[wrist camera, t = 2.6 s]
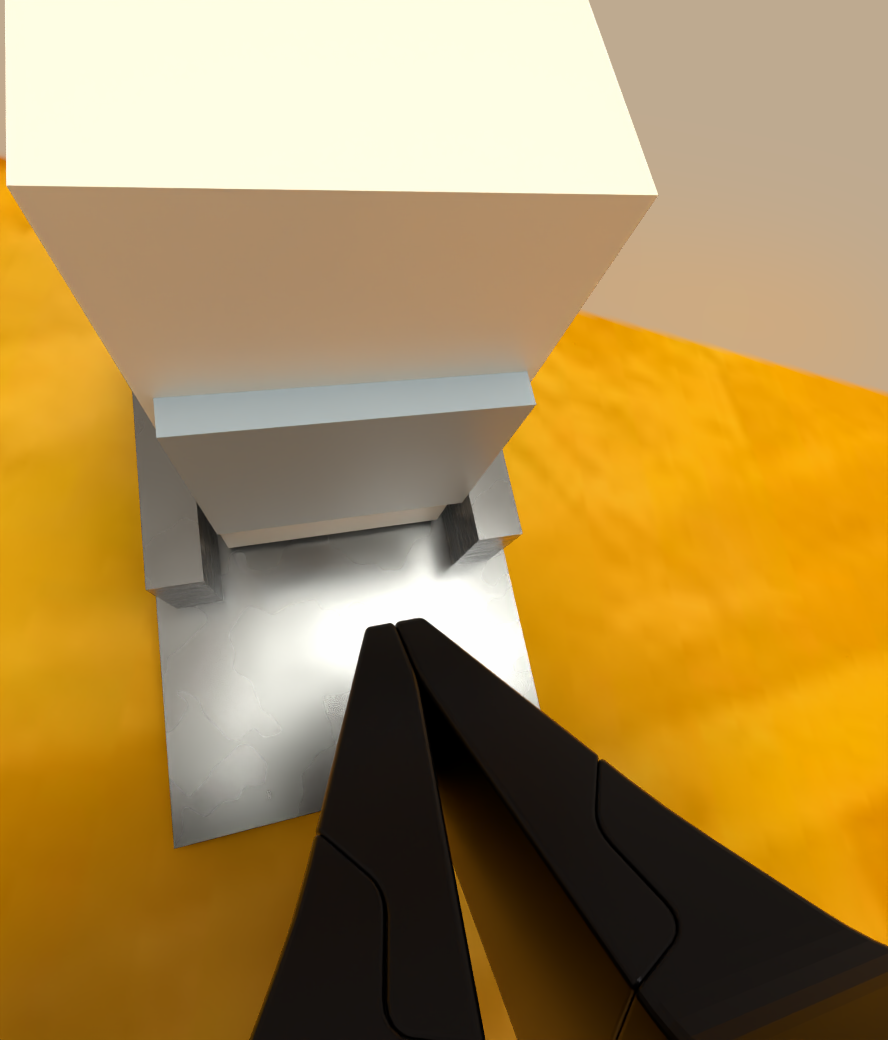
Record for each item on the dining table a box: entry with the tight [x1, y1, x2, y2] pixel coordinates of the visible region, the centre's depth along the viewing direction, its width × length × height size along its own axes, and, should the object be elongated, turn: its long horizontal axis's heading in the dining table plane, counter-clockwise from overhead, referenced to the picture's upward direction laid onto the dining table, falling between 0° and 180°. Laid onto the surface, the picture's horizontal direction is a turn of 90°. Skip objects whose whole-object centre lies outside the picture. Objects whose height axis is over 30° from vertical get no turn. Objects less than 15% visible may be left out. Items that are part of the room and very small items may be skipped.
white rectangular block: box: [5, 0, 658, 548], centre depth 11 cm, size 4×6×12 cm
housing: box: [132, 391, 540, 849], centre depth 16 cm, size 14×10×4 cm
